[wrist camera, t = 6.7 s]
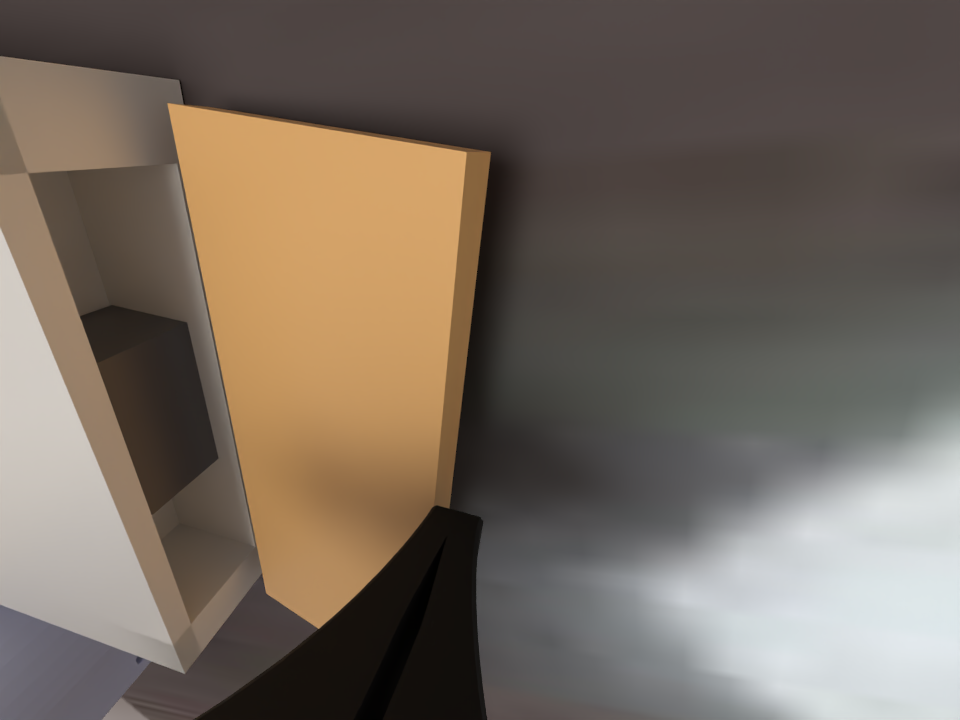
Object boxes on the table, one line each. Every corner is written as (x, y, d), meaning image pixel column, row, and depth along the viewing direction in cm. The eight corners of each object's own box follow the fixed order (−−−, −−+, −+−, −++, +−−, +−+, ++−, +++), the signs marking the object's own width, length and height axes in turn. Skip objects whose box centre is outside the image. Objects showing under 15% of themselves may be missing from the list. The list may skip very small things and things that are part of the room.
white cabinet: (269, 563, 21) (184, 673, 17) (36, 489, 23) (-91, 570, 19) (179, 80, 11) (-75, 46, 7) (-205, 28, 14) (-581, -22, 9)
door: (284, 575, 20) (430, 669, 17) (266, 593, 19) (416, 695, 17) (207, 106, 11) (490, 152, 8) (166, 103, 10) (466, 151, 7)
